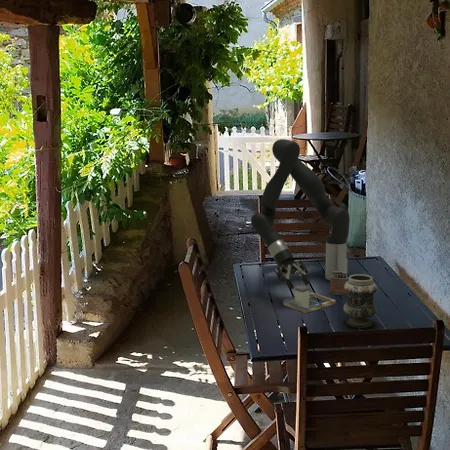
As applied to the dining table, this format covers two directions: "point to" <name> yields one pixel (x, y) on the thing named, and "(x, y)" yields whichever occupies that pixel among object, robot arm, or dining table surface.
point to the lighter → (338, 283)
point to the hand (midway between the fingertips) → (300, 286)
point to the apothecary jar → (360, 300)
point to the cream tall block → (302, 296)
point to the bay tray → (313, 304)
